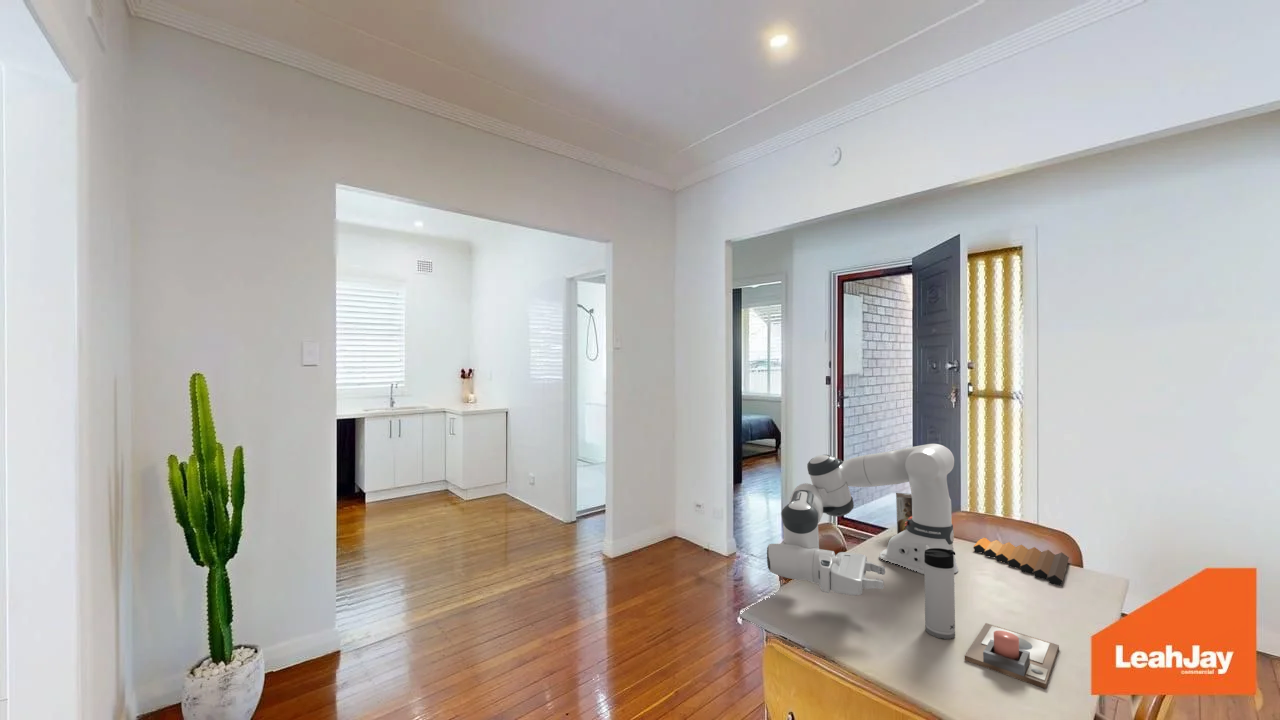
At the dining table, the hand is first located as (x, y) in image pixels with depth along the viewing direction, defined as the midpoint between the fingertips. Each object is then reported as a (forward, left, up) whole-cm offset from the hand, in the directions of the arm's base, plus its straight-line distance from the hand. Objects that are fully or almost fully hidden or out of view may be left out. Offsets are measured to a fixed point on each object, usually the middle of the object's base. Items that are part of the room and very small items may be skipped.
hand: (884, 577), depth 127 cm
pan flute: (+16, +70, -12) cm, 73 cm away
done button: (+26, -2, -8) cm, 27 cm away
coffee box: (-16, +72, -11) cm, 74 cm away
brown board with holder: (+26, +5, -11) cm, 28 cm away
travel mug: (+12, +4, -11) cm, 17 cm away
